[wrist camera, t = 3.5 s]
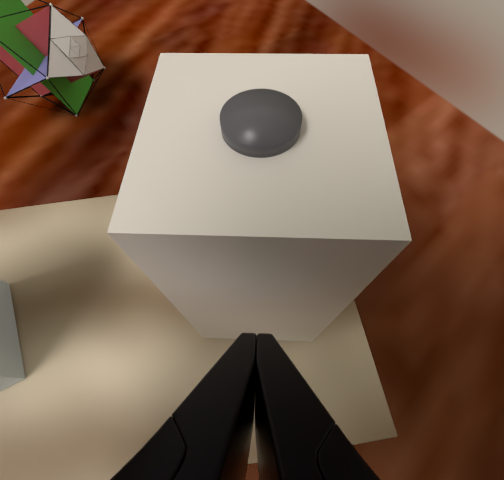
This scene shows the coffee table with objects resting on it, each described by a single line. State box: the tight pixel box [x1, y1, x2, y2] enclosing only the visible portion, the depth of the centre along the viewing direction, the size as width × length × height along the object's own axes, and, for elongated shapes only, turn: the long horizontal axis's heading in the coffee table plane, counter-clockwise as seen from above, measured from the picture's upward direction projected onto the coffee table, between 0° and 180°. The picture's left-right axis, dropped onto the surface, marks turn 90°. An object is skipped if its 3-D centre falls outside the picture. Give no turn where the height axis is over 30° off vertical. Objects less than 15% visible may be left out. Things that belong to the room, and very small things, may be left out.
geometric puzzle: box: [0, 0, 106, 116], centre depth 21 cm, size 7×7×8 cm
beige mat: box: [0, 195, 398, 480], centre depth 15 cm, size 14×23×1 cm, turn 99°
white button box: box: [107, 53, 412, 342], centre depth 10 cm, size 5×5×10 cm
